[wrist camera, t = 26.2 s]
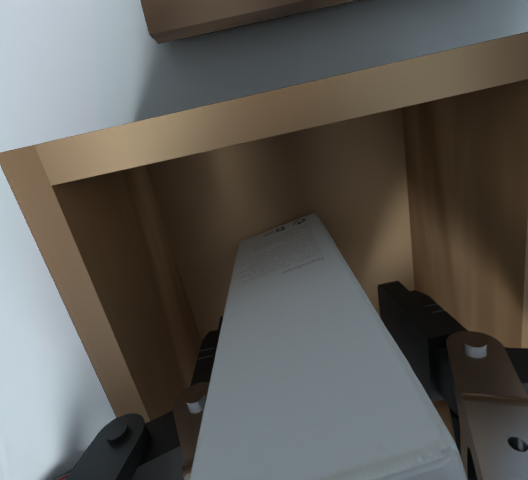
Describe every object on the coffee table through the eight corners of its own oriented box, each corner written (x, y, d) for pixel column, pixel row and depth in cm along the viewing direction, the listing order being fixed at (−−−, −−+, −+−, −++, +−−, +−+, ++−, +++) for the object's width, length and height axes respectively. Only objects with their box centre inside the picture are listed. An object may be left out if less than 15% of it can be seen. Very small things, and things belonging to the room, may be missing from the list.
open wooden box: (210, 402, 20) (183, 562, 12) (125, 147, 15) (-5, 153, 8) (428, 360, 19) (540, 500, 12) (411, 82, 15) (580, 19, 7)
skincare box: (235, 241, 16) (161, 530, 4) (315, 209, 15) (472, 443, 4) (280, 335, 17) (311, 709, 6) (353, 309, 17) (533, 668, 6)
